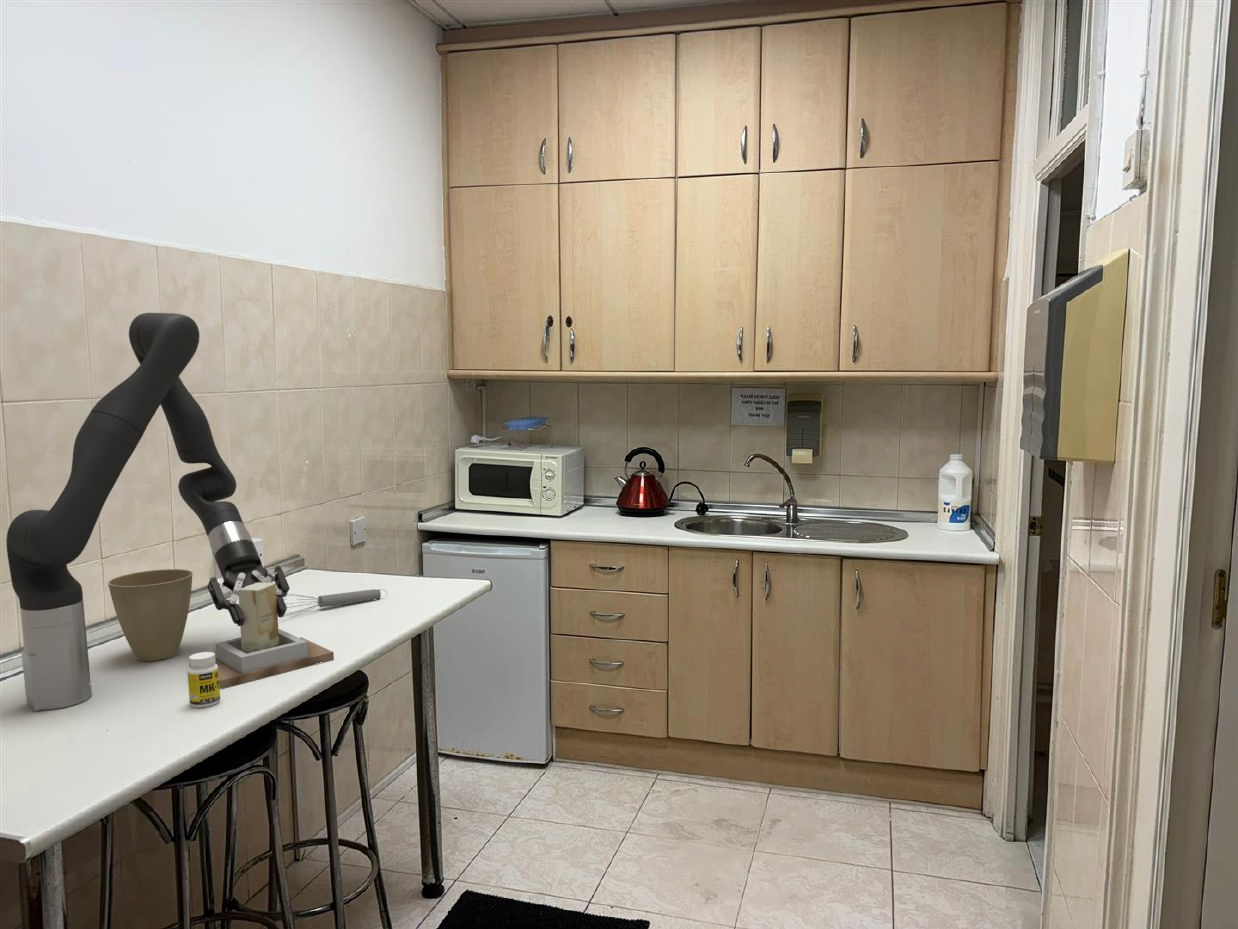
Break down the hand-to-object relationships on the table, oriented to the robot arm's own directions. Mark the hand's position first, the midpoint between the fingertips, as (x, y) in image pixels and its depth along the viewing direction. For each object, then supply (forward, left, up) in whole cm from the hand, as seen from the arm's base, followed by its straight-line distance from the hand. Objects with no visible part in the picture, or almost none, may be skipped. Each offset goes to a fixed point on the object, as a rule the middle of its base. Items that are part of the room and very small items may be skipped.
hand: (262, 619), depth 173 cm
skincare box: (0, +1, -6) cm, 6 cm away
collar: (0, +1, -8) cm, 8 cm away
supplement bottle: (-15, -11, -10) cm, 21 cm away
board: (0, +1, -9) cm, 9 cm away
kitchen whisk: (+25, +30, -10) cm, 41 cm away
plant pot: (-12, +23, -10) cm, 28 cm away
